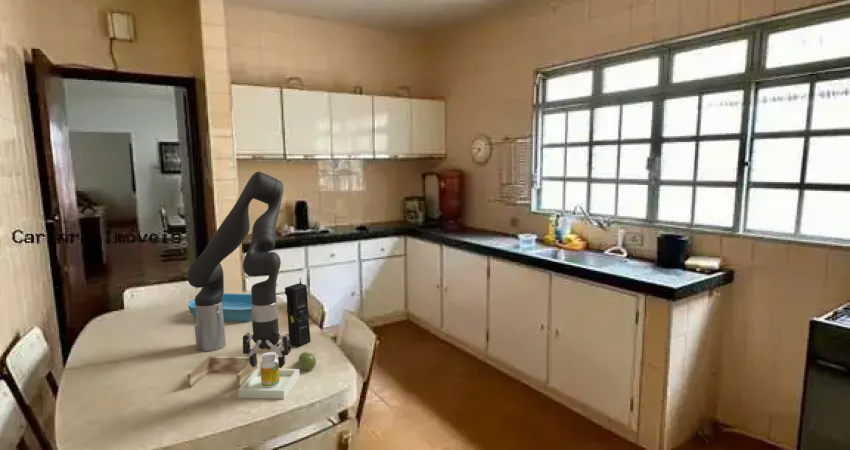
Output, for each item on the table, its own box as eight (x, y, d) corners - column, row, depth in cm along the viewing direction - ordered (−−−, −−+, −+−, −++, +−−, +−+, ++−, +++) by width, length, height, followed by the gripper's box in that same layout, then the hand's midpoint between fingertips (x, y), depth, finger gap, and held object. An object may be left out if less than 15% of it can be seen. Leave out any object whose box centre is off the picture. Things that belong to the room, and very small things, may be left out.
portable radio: (296, 349, 174) (293, 284, 170) (285, 345, 177) (281, 281, 174) (312, 341, 181) (308, 279, 177) (300, 338, 184) (297, 276, 180)
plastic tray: (238, 397, 140) (237, 389, 140) (257, 375, 154) (257, 368, 153) (284, 398, 139) (283, 390, 139) (299, 376, 153) (299, 369, 153)
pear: (300, 357, 154) (294, 351, 163) (301, 373, 154) (296, 366, 163) (316, 354, 156) (311, 348, 166) (318, 370, 157) (312, 363, 166)
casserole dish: (280, 307, 221) (279, 293, 220) (260, 325, 199) (258, 309, 198) (206, 306, 225) (205, 291, 224) (178, 323, 203) (176, 307, 202)
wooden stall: (188, 387, 146) (187, 374, 145) (209, 368, 159) (208, 356, 158) (240, 388, 145) (239, 375, 144) (257, 369, 158) (256, 357, 157)
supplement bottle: (274, 389, 143) (272, 359, 142) (258, 387, 144) (256, 357, 143) (282, 380, 148) (281, 351, 147) (267, 379, 150) (265, 350, 148)
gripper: (236, 320, 140) (240, 371, 142) (283, 321, 139) (285, 373, 141) (247, 311, 147) (250, 360, 149) (292, 313, 146) (294, 362, 148)
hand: (267, 366), depth 145 cm, fingers open, 8 cm apart
